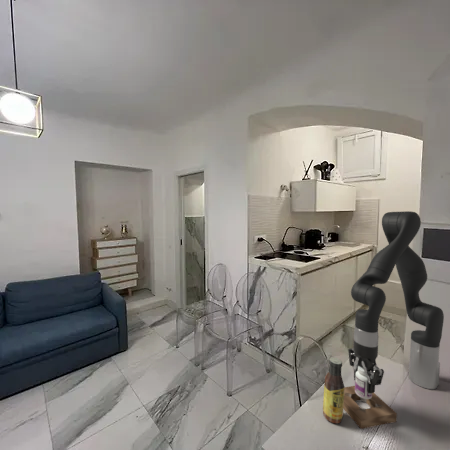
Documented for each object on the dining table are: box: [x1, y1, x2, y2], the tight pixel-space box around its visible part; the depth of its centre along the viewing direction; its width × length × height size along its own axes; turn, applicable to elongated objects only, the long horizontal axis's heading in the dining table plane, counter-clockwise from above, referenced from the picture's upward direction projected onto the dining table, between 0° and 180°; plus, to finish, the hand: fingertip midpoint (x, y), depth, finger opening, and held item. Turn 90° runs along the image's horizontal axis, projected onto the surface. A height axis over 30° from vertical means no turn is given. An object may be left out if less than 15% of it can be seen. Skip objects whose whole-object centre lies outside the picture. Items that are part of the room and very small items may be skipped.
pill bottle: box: [354, 366, 372, 399], centre depth 85 cm, size 5×5×10 cm
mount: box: [343, 385, 398, 430], centre depth 86 cm, size 14×14×3 cm
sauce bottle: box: [322, 356, 345, 424], centre depth 81 cm, size 7×6×20 cm
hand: (363, 386), depth 85 cm, fingers closed on pill bottle, 5 cm apart
